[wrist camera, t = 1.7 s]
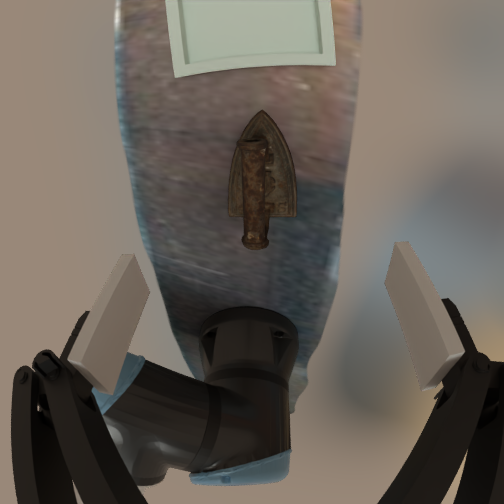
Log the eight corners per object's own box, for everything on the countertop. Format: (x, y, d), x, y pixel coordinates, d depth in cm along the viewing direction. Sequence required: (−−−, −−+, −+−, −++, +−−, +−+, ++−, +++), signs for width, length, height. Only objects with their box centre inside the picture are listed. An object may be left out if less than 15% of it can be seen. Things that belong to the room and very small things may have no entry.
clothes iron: (231, 218, 31) (203, 255, 22) (228, 113, 26) (196, 104, 17) (296, 220, 30) (295, 260, 21) (298, 113, 25) (299, 100, 16)
